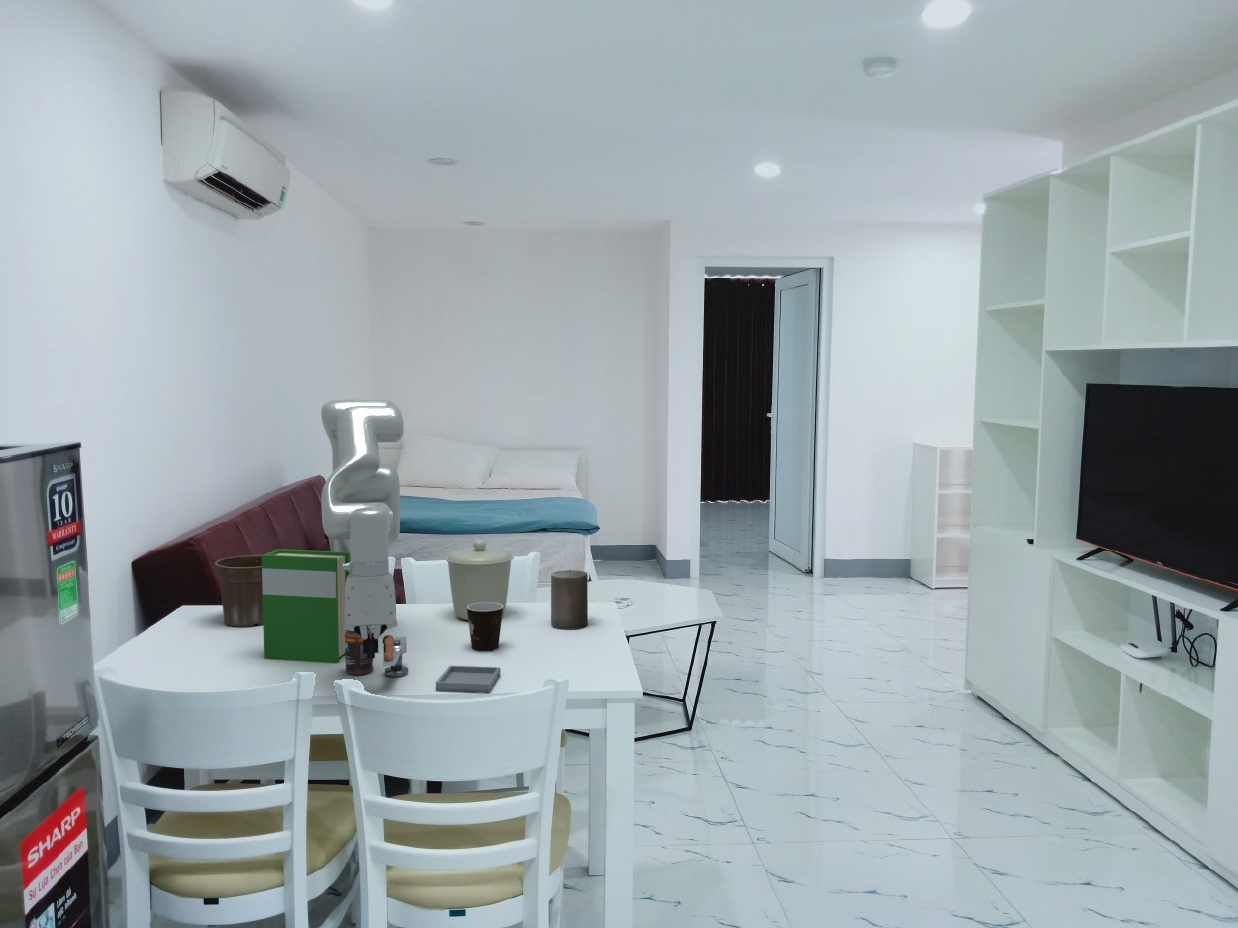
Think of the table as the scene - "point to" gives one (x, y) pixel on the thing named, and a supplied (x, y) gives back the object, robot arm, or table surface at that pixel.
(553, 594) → the pillar candle
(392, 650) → the crank
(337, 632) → the hardback book
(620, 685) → the table surface
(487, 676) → the tray
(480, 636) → the coffee mug
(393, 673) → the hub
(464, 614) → the canister
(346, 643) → the supplement bottle
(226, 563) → the plant pot
